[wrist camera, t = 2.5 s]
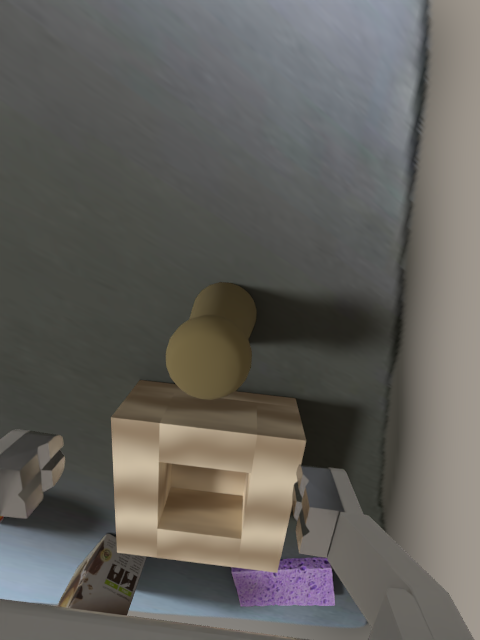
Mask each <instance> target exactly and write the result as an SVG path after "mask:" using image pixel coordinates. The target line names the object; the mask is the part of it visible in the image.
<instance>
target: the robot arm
mask: <svg viewBox="0 0 480 640" xmlns="http://www.w3.org/2000/svg"><path fill="white" fill-rule="evenodd" d="M63 445H64V444H63V438H62V436H60V435H55V434H48V433H42V432H35V431H26V430H19V429H16V430H13V431H11V432H9V433H8V434H7V435H5V436H4V437H3V438H2V439H0V516H4V517H15V518H26V519H27V518H28V517H29V515H30V514H31V513H32V512H33V511H34V509H35V508H36V507H37V506H38V504H39V503H40V502H41V501H42V500H43V492H44V491H46V490H48V489H49V488H51V487H53V486H54V485H55V483H56V482H57V481H58V480H59V478H60V476H61V474H62V472H63V470H64V465H65V456H64V454H63V453H62V452H61V451H60V449H61V447H62V446H63ZM296 475H297V482H296V483H295V484H294V487H293V494H292V507H293V516H294V518H295V519H296V520H297V521H298V522H297V527H296V536H297V543H298V549H299V553H300V554H306V555H312V556H319V557H325V558H327V560H328V562H329V563H330V565H331V566H332V568H333V569H334V571H335V572H336V574H337V575H338V577H339V578H340V580H341V581H342V583H343V584H344V586H345V588H346V589H347V591H348V592H349V594H350V595H351V597H352V598H353V600H354V601H355V603H356V604H357V606H358V607H359V609H360V610H361V612H362V614H363V615H364V617H365V618H366V620H367V621H368V623H369V624H370V626H371V627H372V630H371V633H370V636H369V638H368V640H474V639H473V637H472V635H471V633H470V631H469V629H468V628H467V626H466V624H465V622H464V621H463V618H462V617H461V615H460V613H459V611H458V609H457V608H456V606H455V604H454V602H453V600H452V599H451V597H450V595H449V593H448V592H446V591H445V589H444V588H442V587H441V586H440V585H439V584H438V583H437V582H436V581H435V580H434V579H433V578H432V577H431V576H430V575H429V574H428V573H427V572H426V571H425V570H424V569H423V568H422V567H421V566H420V565H419V564H418V563H417V562H416V561H415V560H414V559H413V558H411V556H409V555H408V554H407V553H406V552H405V551H404V550H403V549H402V548H401V547H400V546H399V545H398V544H397V543H396V542H395V541H394V540H393V539H392V538H391V537H390V536H389V535H388V534H387V533H386V532H385V531H384V530H383V529H382V528H381V527H380V526H379V525H378V524H377V523H375V522H374V521H373V520H372V519H371V518H370V517H369V516H368V515H363V512H362V510H361V508H360V505H359V503H358V500H357V498H356V495H355V493H354V490H353V488H352V485H351V483H350V481H349V478H348V476H347V473H346V471H345V470H344V469H337V468H326V467H317V466H309V465H300V464H299V466H298V468H297V472H296ZM0 640H308V639H300V638H293V637H284V636H278V635H270V634H263V633H254V632H247V631H240V630H232V629H225V628H217V627H210V626H201V625H194V624H187V623H179V622H171V621H164V620H156V619H149V618H141V617H133V616H126V615H118V614H111V613H103V612H96V611H88V610H80V609H73V608H65V607H57V606H50V605H42V604H35V603H27V602H19V601H12V600H4V599H0Z"/></svg>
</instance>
